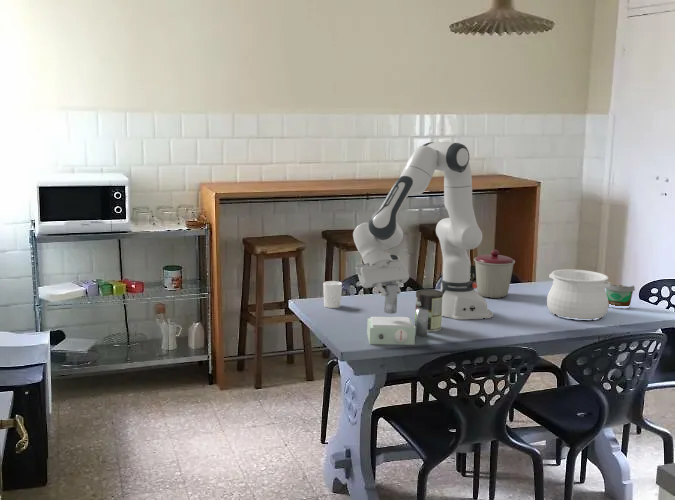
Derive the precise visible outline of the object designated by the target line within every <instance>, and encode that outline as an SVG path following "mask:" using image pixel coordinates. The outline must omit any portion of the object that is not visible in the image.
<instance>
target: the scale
mask: <svg viewBox="0 0 675 500" xmlns="http://www.w3.org/2000/svg"><path fill="white" fill-rule="evenodd" d="M415 329H416V328H415V324H414V323H413V320H412V318H409V317H408V316H370V317H367V327H366V334H367V340H368V343H369V345H398V346H399V345H402V346H404V345H407V346H408V345H409V346H410V345H413V346H414V345H416V344H415V343H416V341H415V340H416V339H415V337H416V336H415Z"/></svg>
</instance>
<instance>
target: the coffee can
mask: <svg viewBox="0 0 675 500" xmlns="http://www.w3.org/2000/svg"><path fill="white" fill-rule="evenodd" d="M442 299H443V292H441V290H437V289H432V288H431V289H430V288H429V289H428V288H425V289H424V288H423V289H418V290H416V291H415V310H416V309H417V308H427V309H428V328H427V333H429V332H430V333H432V332H433V333H434V332H438V331H441V329H442V317H443V316H442ZM414 314H415V316H414V327H415V329H416V311H415V312H414Z"/></svg>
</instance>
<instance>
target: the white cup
mask: <svg viewBox="0 0 675 500" xmlns="http://www.w3.org/2000/svg"><path fill="white" fill-rule="evenodd" d="M322 287H323V289H322V290H323V306H324V307H325V308H329V309H337V308H340V307H341V302H342V301H341V300H342V289H343V283H342V281H336V280H329V281H324V282H323V284H322Z"/></svg>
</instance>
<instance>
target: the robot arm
mask: <svg viewBox="0 0 675 500" xmlns="http://www.w3.org/2000/svg"><path fill="white" fill-rule="evenodd" d="M435 171H441V172H442V171H443V173H444V178H443V201H444V202H443V203H444V204H443V205H444V207H445V209H446V211H447V214H448V217H446V218H442V219H441V220H439V221H438V222H437V224H436V227H435V235H436V237H437V238H438V240H439V245H440V249H441V255H442V265H443V266H442V279H441V280H440V281H441V283H440V291H441V292H443V299H442V317H446V318H450V319H454V320H459V321H460V320H461V321H462V320H480V319H481V320H482V319H483V318H485V319H492V318H493V316H494V313H493V312H492V311H491V310H490V309H488V303H487V300H486V299H485V297H484V296H481V295H480V294H479V293H478V291H477V287H478V286H477V282H474V281H472V280H471V266H472V263H471V259H470V257H469V255H468V251H467V250H474V249H476V248H478V247H479V246H480V245H481V243H482V240H483V233H482V230H481V228H480V227H479V224H478V222H477V218H476V215H475V211H474V204H473V180H472V179H473V177H472V170H471V165H470V151H469V149H468V147H467V146H466V145H465V144H463V143H459V142H452V141H451V142H450V141H438V142H437V141H436V142H432V141H430V142H427V143H424V144H422V145H420V146H418V147H416V148H415V150H414V151H413V153H412V154H411V155H410V156H409V158H408V160H407V161H406V164H405V166H404V167H403V169H402V172H401V174H400V176H399V178H398V179H396V181H395V182H394V184H393V185H392V186H391V189H390V191H389V192H388V194H387V195H386V197H385V199H384V200H383V203H382V204H381V206H380V207H379V208H378V209H377V210H376V211H375V212H374V213H373V214H372V215H371V216H370V218H369V221H368V222H362V223H360V224H359V225H356V227H355V229H354V230H353V232H352V237H353V242H354V245H355V247H356V249H357V251H358V253H359V254H360V255H361V257H362V261H363V263H359V264H357V265H356V266H355V271H356V273H357V277H358V280H359V282H360V285H361V287H362V288H364V289H368V288H376V290H377V291H378V292H380V294H381V295H382V297H385V296H386V295H387V294H388V292H387V289H385V288H384V286H385V285H386V284H396V285H398V289H397V295H400V294H401V293H402V291H401V289H400V286H401V284H405V283H406V282H407V281H408V280H409V279H410V274H409V272H408V270H407V268H406V266H405V264H404V263H403V262H401V257H400V256H399V255H397V254H393V253H389V252H386V251H389V250H391V249H394V248H396V247H398V246H400V245H401V243H402V242H403V240H404V231H403V229H402V227H401V226H400V223H398V221H397V215H398V212H399V211H400V209H401V207H402V206H403V204H404V202H405V200H406V199H407V198H408V196H413V197H414V196H419V195H422V194H423V193H424V192H425V190H427V188H428V186H429V184H430V182H431V180H432V178H433V175H434V173H435ZM491 317H492V318H491Z"/></svg>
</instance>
